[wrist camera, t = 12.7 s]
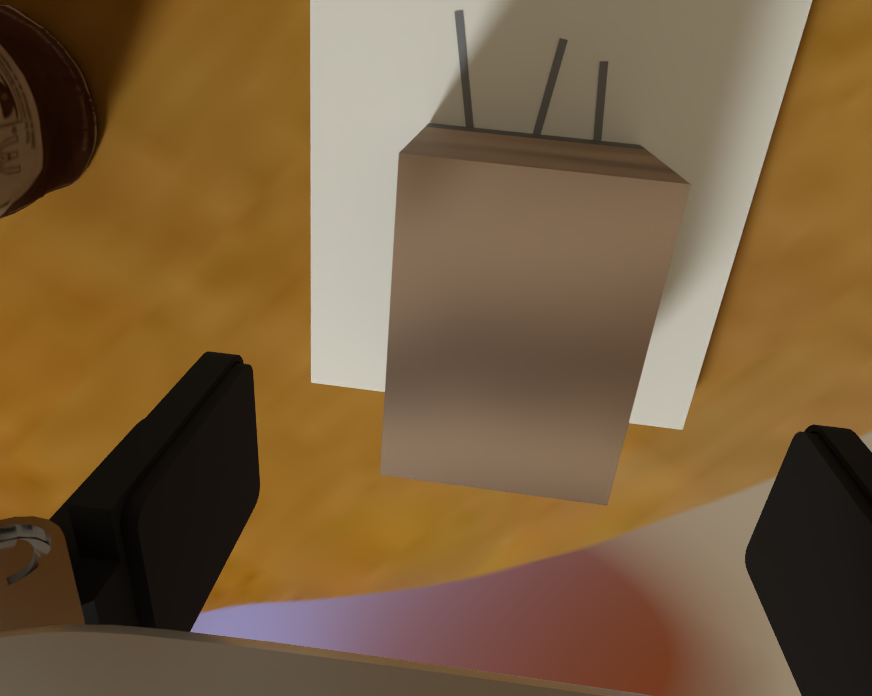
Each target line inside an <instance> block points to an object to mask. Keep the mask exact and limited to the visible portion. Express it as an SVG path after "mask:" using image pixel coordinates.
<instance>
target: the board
mask: <svg viewBox="0 0 872 696" xmlns="http://www.w3.org/2000/svg"><path fill="white" fill-rule="evenodd" d="M811 4H812V0H310V95H311V383H319V384H327V385H335V386H343V387H350V388H358V389H366V390H374V391H382V392H385V382H386V365H387V347H388V330H389V313H390V296H391V278H392V261H393V244H394V227H395V210H396V192H397V175H398V158H399V152H400V151H401V150H402V149H403V148H404V147H405V146H406V145H407V144H408V143H409V142H410V141H411V140H412V139H413V138H414V137H415V136H416V135H417V134H418V133H419V132H420V131H421V130H422V129H423V128H424V127H425V126H426V125H427V124H428V123H434V124H444V125H454V126H463V127H473V128H483V129H492V130H502V131H512V132H521V133H531V134H541V135H550V136H560V137H569V138H579V139H589V140H598V141H608V142H618V143H627V144H637V145H641V146H642V147H644V148H645V149H646V150H648V151H649V152H650V153H651V154H653V155H654V156H655V157H657V158H658V159H659V160H660V161H662V162H663V163H664V164H666V165H667V166H668V167H669V168H671V169H672V170H673V171H674V172H676V173H677V174H678V175H680V176H681V177H682V178H683V179H685V180H686V181H687V182H689V183H690V184H691V186H690V190H689V194H688V198H687V201H686V205H685V209H684V213H683V217H682V221H681V224H680V228H679V232H678V236H677V240H676V244H675V247H674V251H673V255H672V259H671V263H670V267H669V270H668V274H667V278H666V282H665V286H664V290H663V293H662V297H661V301H660V305H659V309H658V313H657V316H656V320H655V324H654V328H653V332H652V335H651V339H650V343H649V347H648V351H647V355H646V358H645V362H644V366H643V370H642V374H641V378H640V381H639V385H638V389H637V393H636V397H635V401H634V404H633V408H632V412H631V416H630V420H629V423H633V424H641V425H649V426H657V427H665V428H673V429H680V430H683V427H684V423H685V420H686V417H687V413H688V410H689V407H690V403H691V400H692V397H693V394H694V390H695V387H696V384H697V380H698V377H699V374H700V370H701V367H702V364H703V361H704V357H705V354H706V351H707V347H708V344H709V341H710V337H711V334H712V331H713V327H714V324H715V321H716V318H717V314H718V311H719V308H720V304H721V301H722V298H723V294H724V291H725V288H726V285H727V281H728V278H729V275H730V271H731V268H732V265H733V261H734V258H735V255H736V251H737V248H738V245H739V242H740V238H741V235H742V232H743V228H744V225H745V222H746V218H747V215H748V212H749V209H750V205H751V202H752V199H753V195H754V192H755V189H756V185H757V182H758V179H759V175H760V172H761V169H762V166H763V162H764V159H765V156H766V152H767V149H768V146H769V142H770V139H771V136H772V132H773V129H774V126H775V123H776V119H777V116H778V113H779V109H780V106H781V103H782V99H783V96H784V93H785V90H786V86H787V83H788V80H789V76H790V73H791V70H792V66H793V63H794V60H795V56H796V53H797V50H798V47H799V43H800V40H801V37H802V33H803V30H804V27H805V23H806V20H807V17H808V14H809V10H810V7H811Z"/></svg>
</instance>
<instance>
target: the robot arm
mask: <svg viewBox="0 0 872 696" xmlns="http://www.w3.org/2000/svg"><path fill="white" fill-rule="evenodd" d="M259 490H260V477H259V461H258V445H257V429H256V412H255V396H254V380H253V369H252V367H251V365H249V364H244V363H243V360H242V357H241V356H240V355H234V354H225V353H217V352H206V353H204V354H203V355H202V356H201V357H200V358H199V360H198V361H197V362H196V363H195V364H194V365H193V366H192V367H191V368H190V369H189V371H188V372H187V373H186V374H185V375H184V376H183V377H182V378H181V379H180V380H179V382H178V383H177V384H176V385H175V386H174V387H173V388H172V389H171V390H170V391H169V393H168V394H167V395H166V396H165V397H164V398H163V399H162V400H161V401H160V402H159V404H158V405H157V406H156V407H155V408H154V409H153V410H152V411H151V412H150V413H149V415H148V416H147V417H146V418H145V419H143V420H141V421H140V422H139V423H138V424H136V426H135V427H134V428H133V429H132V430H131V431H130V432H129V433H128V434H127V435H126V436H125V438H124V439H123V440H122V441H121V442H120V443H119V444H118V445H117V446H116V447H115V448H114V450H113V451H112V452H111V453H110V454H109V455H108V456H107V457H106V458H105V459H104V460H103V462H102V463H101V464H100V465H99V466H98V467H97V468H96V469H95V470H94V471H93V472H92V474H91V475H90V476H89V477H88V478H87V479H86V480H85V481H84V482H83V483H82V484H81V486H80V487H79V488H78V489H77V490H76V491H75V492H74V493H73V494H72V495H71V496H70V498H69V499H68V500H67V501H66V502H65V503H64V504H63V505H62V506H61V507H60V508H59V510H58V511H57V512H56V513H55V514H54V515H53V516H52V517H51V518H50V519H49V520H48V519H44V518H39V517H34V516H28V517H12V518H7V519H3V520H0V696H650V695H644V694H637V693H629V692H622V691H616V690H609V689H602V688H595V687H588V686H582V685H575V684H568V683H561V682H553V681H547V680H540V679H533V678H525V677H518V676H512V675H505V674H498V673H491V672H484V671H477V670H470V669H462V668H456V667H449V666H442V665H434V664H427V663H419V662H413V661H406V660H398V659H391V658H384V657H377V656H369V655H362V654H355V653H348V652H339V651H333V650H326V649H319V648H311V647H304V646H296V645H290V644H282V643H275V642H266V641H258V640H250V639H242V638H233V637H226V636H217V635H210V634H209V635H208V634H201V633H193V632H190V631H191V629H192V627H193V625H194V623H195V621H196V619H197V617H198V615H199V613H200V612H201V610H202V608H203V606H204V604H205V602H206V600H207V598H208V596H209V594H210V592H211V590H212V588H213V586H214V584H215V583H216V581H217V579H218V577H219V575H220V573H221V571H222V569H223V567H224V565H225V563H226V561H227V559H228V557H229V556H230V554H231V552H232V550H233V548H234V546H235V544H236V542H237V540H238V538H239V536H240V534H241V532H242V530H243V529H244V527H245V525H246V523H247V521H248V519H249V517H250V515H251V513H252V511H253V509H254V507H255V505H256V503H257V500H258V496H259ZM745 563H746V568H747V571H748V574H749V576H750V578H751V581H752V583H753V585H754V588H755V590H756V592H757V594H758V597H759V599H760V601H761V604H762V606H763V608H764V610H765V613H766V615H767V617H768V620H769V622H770V624H771V626H772V629H773V631H774V633H775V636H776V638H777V640H778V642H779V645H780V647H781V649H782V652H783V654H784V656H785V659H786V661H787V663H788V665H789V667H790V670H791V672H792V675H793V677H794V679H795V681H796V684H797V686H798V688H799V691H800V693H801V695H802V696H872V452H871V451H870V450H869V449H868V448H867V446H866V445H865V444H864V443H863V442H862V440H861V439H860V438H859V437H858V436H857V435H856V433H855V432H853V431H852V430H850V429H846V428H837V427H829V426H821V425H811V426H809V427H808V428H807V429H806V430H805V432H798V433H797V434H796V435H795V436H794V437H793V439H792V441H791V444H790V446H789V449H788V451H787V453H786V456H785V458H784V460H783V463H782V465H781V468H780V470H779V472H778V475H777V477H776V480H775V482H774V484H773V487H772V489H771V492H770V494H769V496H768V499H767V501H766V504H765V506H764V508H763V510H762V513H761V515H760V518H759V520H758V523H757V525H756V527H755V529H754V532H753V534H752V537H751V539H750V542H749V544H748V546H747V549H746V554H745Z"/></svg>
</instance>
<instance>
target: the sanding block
mask: <svg viewBox="0 0 872 696" xmlns="http://www.w3.org/2000/svg"><path fill="white" fill-rule="evenodd" d="M690 186H691V184H690V183H689V182H687V181H686V180H685V179H683V178H682V177H681V176H680V175H678V174H677V173H676V172H674V171H673V170H672V169H671V168H669V167H668V166H667V165H666V164H664V163H663V162H662V161H660V160H659V159H658V158H657V157H655V156H654V155H653V154H651V153H650V152H649V151H648V150H646V149H645V148H644V147H642V146H641V145H637V144H627V143H618V142H608V141H598V140H589V139H579V138H569V137H560V136H550V135H541V134H531V133H521V132H512V131H502V130H492V129H483V128H473V127H463V126H454V125H444V124H434V123H428V124H427V125H426V126H425V127H424V128H423V129H422V130H421V131H420V132H419V133H418V134H417V135H416V136H415V137H414V138H413V139H412V140H411V141H410V142H409V143H408V144H407V145H406V146H405V147H404V148H403V149H402V150H401V151H400V152H399V158H398V175H397V192H396V210H395V227H394V244H393V261H392V278H391V296H390V313H389V330H388V347H387V365H386V382H385V399H384V416H383V433H382V451H381V468H380V475H386V476H393V477H400V478H408V479H415V480H422V481H430V482H437V483H445V484H452V485H459V486H467V487H474V488H482V489H489V490H496V491H504V492H511V493H519V494H526V495H533V496H541V497H548V498H555V499H563V500H570V501H578V502H585V503H592V504H600V505H607V504H608V500H609V496H610V493H611V489H612V485H613V481H614V477H615V473H616V470H617V466H618V462H619V458H620V454H621V450H622V447H623V443H624V439H625V435H626V431H627V427H628V424H629V420H630V416H631V412H632V408H633V404H634V401H635V397H636V393H637V389H638V385H639V381H640V378H641V374H642V370H643V366H644V362H645V358H646V355H647V351H648V347H649V343H650V339H651V335H652V332H653V328H654V324H655V320H656V316H657V313H658V309H659V305H660V301H661V297H662V293H663V290H664V286H665V282H666V278H667V274H668V270H669V267H670V263H671V259H672V255H673V251H674V247H675V244H676V240H677V236H678V232H679V228H680V224H681V221H682V217H683V213H684V209H685V205H686V201H687V198H688V194H689V190H690Z"/></svg>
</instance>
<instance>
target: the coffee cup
mask: <svg viewBox="0 0 872 696" xmlns="http://www.w3.org/2000/svg"><path fill="white" fill-rule="evenodd" d="M96 139H97V123H96V115H95V111H94V107H93V103H92V100H91V97H90V93H89V90H88V87H87V84H86V81H85V79H84V77H83V74H82V73H81V71H80V69H79V68H78V66H77V65H76V63H75V62H74V61H73V59H72V58H71V57H70V55H69V54H68V53H67V51H66V50H65V49H64V47H63V46H62V45H61V44H60V43H59V42H58V41H57V40H56V39H55V38H54V37H53V36H52V35H51V34H50V33H49V32H48V31H47V30H46V29H45V28H43V27H42V26H40V25H39V24H37V23H36V22H34V21H33V20H31V19H29V18H28V17H26V16H25V15H23V14H22V13H21V12H19V11H18V10H16V9H15V8H13V7H11V6H9V5H0V218H3V217H5V216H8V215H11V214H14V213H16V212H18V211H20V210H21V209H23V208H25V207H27V206H29V205H30V204H32V203H34V202H35V201H36V200H37V199H39V198H41V197H43V196H44V195H45V194H46V193H49V192H52V191H54V190H57V189H60V188H63V187H66V186H69V185H70V184H72V183H74V182H76V181H77V180H78V179H79V178H80V177H81V175H82V174H83V172H84V170H85V169H86V167H87V165H88V163H89V161H90V158H91V156H92V154H93V152H94V149H95V145H96Z"/></svg>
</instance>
